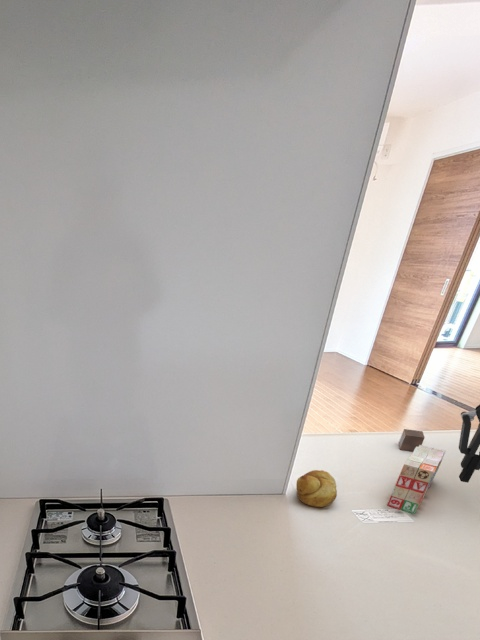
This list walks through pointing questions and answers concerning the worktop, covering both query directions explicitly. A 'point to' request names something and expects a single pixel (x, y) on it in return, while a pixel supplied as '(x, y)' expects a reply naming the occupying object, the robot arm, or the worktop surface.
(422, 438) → the walnut block
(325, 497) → the bread roll
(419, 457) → the stack of blocks
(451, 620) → the worktop surface
